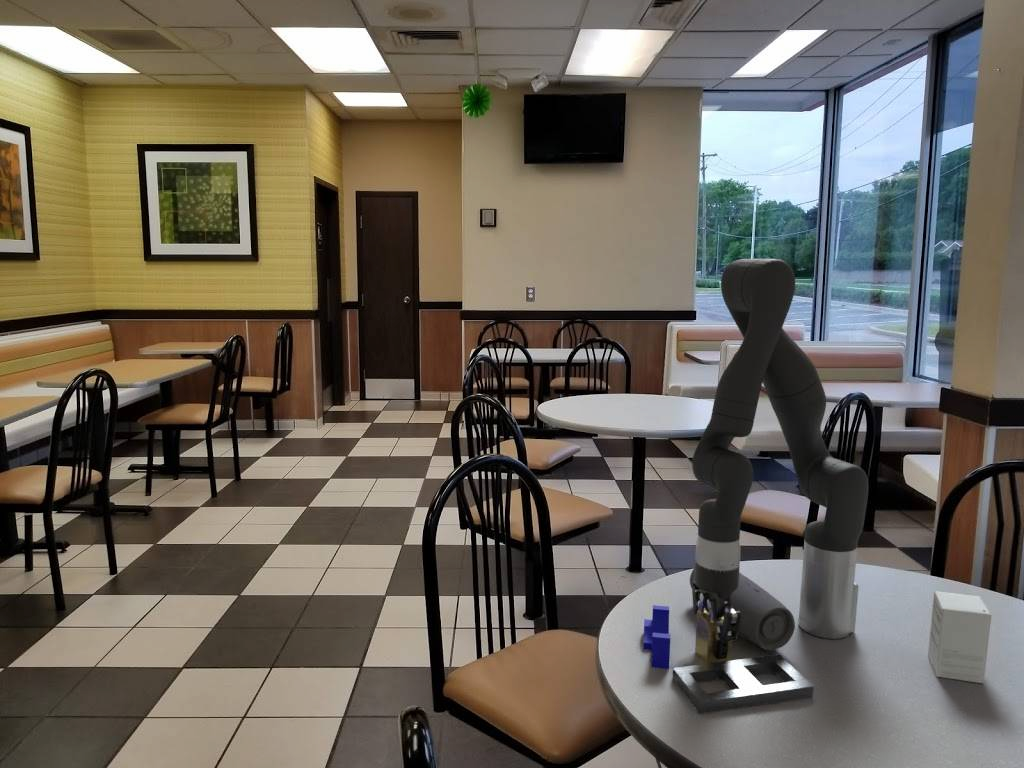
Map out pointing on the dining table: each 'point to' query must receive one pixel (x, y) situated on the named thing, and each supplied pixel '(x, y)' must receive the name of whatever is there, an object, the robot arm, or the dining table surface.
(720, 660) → the tan rectangular block
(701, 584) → the robot arm
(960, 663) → the supplement box
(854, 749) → the dining table surface
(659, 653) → the cable clip
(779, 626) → the bluetooth speaker
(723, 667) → the grey flat frame
